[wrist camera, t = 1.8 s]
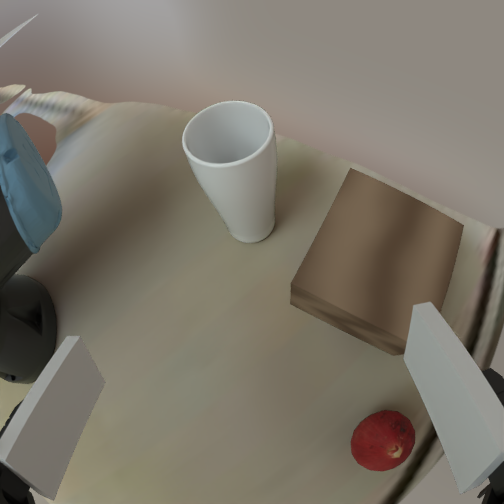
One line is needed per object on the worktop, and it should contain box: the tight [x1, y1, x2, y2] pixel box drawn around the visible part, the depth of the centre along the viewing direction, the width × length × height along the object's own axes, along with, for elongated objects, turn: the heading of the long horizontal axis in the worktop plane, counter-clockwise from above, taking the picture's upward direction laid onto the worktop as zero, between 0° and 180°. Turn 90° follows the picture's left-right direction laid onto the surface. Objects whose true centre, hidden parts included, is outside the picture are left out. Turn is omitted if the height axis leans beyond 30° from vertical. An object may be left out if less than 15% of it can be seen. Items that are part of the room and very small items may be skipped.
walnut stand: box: [290, 168, 464, 356], centre depth 27 cm, size 12×12×8 cm
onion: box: [351, 410, 415, 471], centre depth 21 cm, size 6×6×8 cm
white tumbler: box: [182, 101, 278, 243], centre depth 27 cm, size 7×7×15 cm
